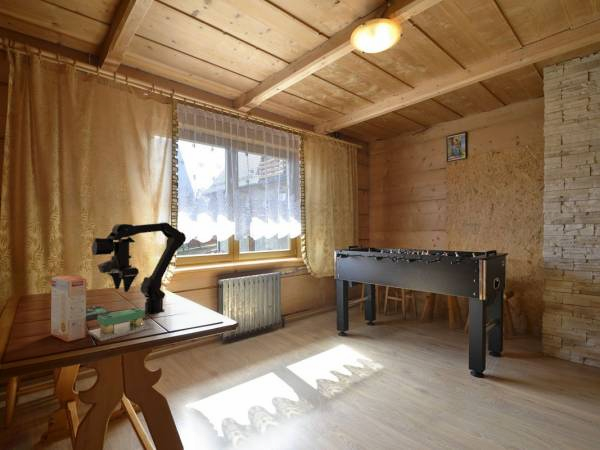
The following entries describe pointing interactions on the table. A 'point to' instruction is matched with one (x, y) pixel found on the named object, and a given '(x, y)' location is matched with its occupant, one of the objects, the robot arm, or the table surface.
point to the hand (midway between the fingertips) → (121, 290)
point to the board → (120, 316)
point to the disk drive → (95, 312)
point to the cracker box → (68, 308)
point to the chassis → (120, 329)
